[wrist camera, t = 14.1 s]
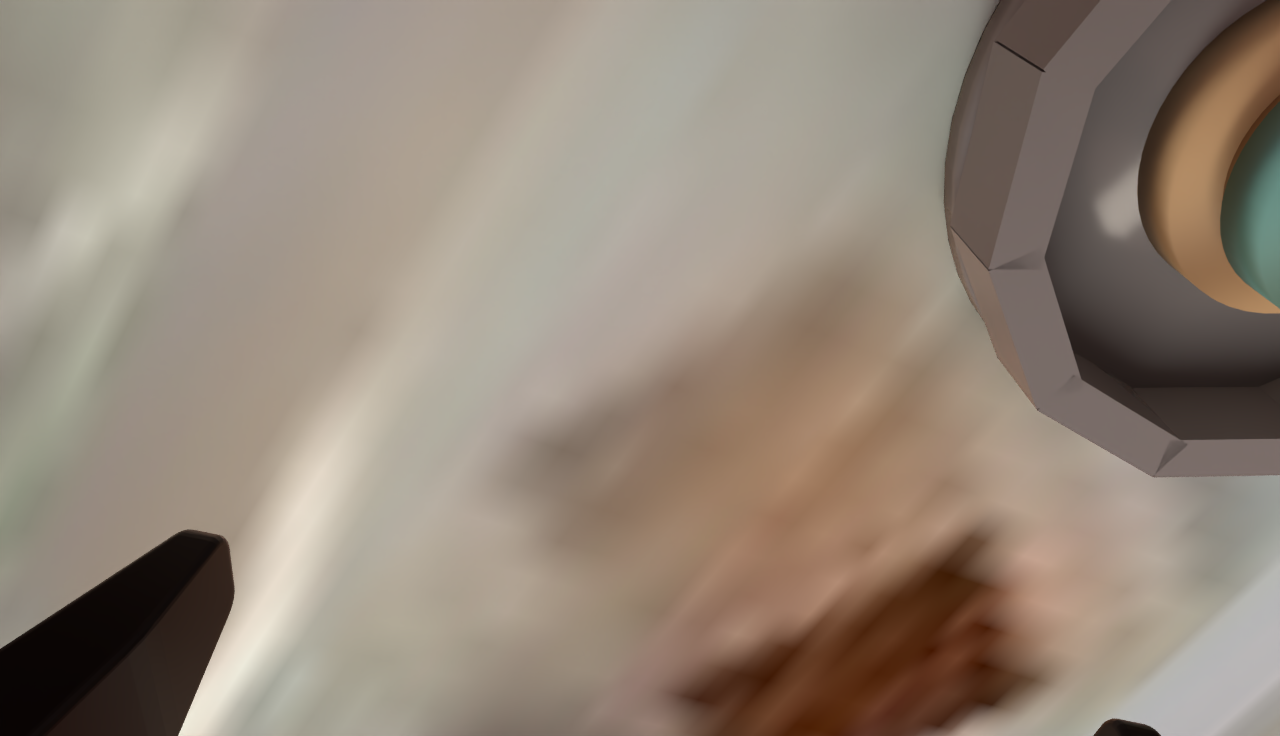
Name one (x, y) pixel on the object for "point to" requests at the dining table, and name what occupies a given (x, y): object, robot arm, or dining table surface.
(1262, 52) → the disc
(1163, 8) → the round tray
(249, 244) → the dining table surface
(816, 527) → the dining table surface
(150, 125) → the dining table surface
